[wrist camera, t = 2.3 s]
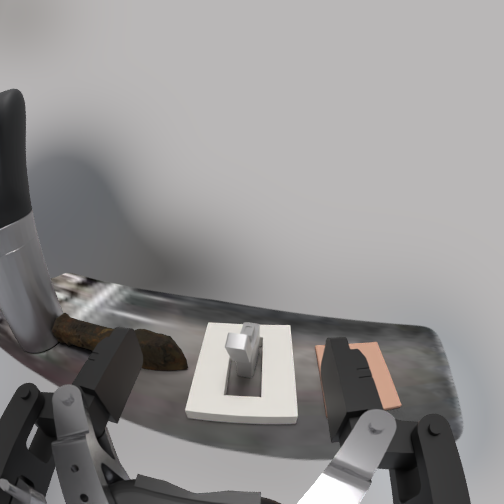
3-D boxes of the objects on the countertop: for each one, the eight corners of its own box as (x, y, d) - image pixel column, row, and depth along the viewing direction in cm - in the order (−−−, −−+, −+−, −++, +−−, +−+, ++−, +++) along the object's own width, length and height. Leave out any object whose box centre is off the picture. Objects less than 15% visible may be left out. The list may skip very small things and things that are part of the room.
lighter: (244, 349, 30) (243, 293, 27) (259, 351, 30) (260, 295, 27) (229, 396, 24) (223, 341, 21) (246, 399, 24) (245, 344, 20)
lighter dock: (188, 418, 21) (185, 410, 21) (209, 331, 33) (208, 322, 32) (295, 423, 21) (297, 416, 20) (289, 334, 33) (290, 325, 32)
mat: (326, 417, 21) (327, 415, 21) (315, 347, 30) (315, 345, 30) (399, 407, 21) (401, 405, 21) (375, 344, 30) (376, 341, 30)
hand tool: (58, 347, 28) (45, 320, 26) (74, 330, 31) (62, 303, 29) (179, 389, 25) (171, 361, 23) (191, 363, 28) (185, 334, 26)
